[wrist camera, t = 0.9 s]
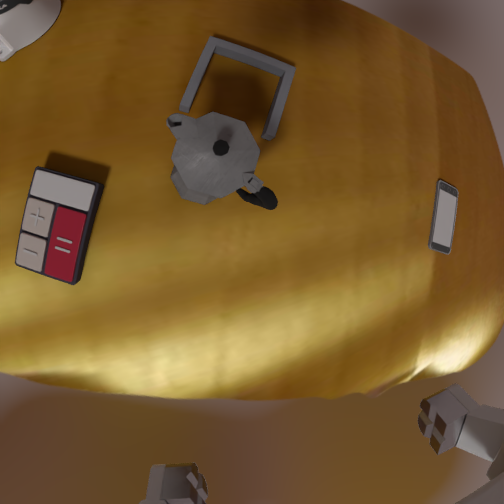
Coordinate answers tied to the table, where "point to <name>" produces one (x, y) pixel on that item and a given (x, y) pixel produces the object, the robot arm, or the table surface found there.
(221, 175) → the coffeepot
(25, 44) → the robot arm
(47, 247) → the calculator
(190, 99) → the dock
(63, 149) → the table surface
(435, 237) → the smartphone
